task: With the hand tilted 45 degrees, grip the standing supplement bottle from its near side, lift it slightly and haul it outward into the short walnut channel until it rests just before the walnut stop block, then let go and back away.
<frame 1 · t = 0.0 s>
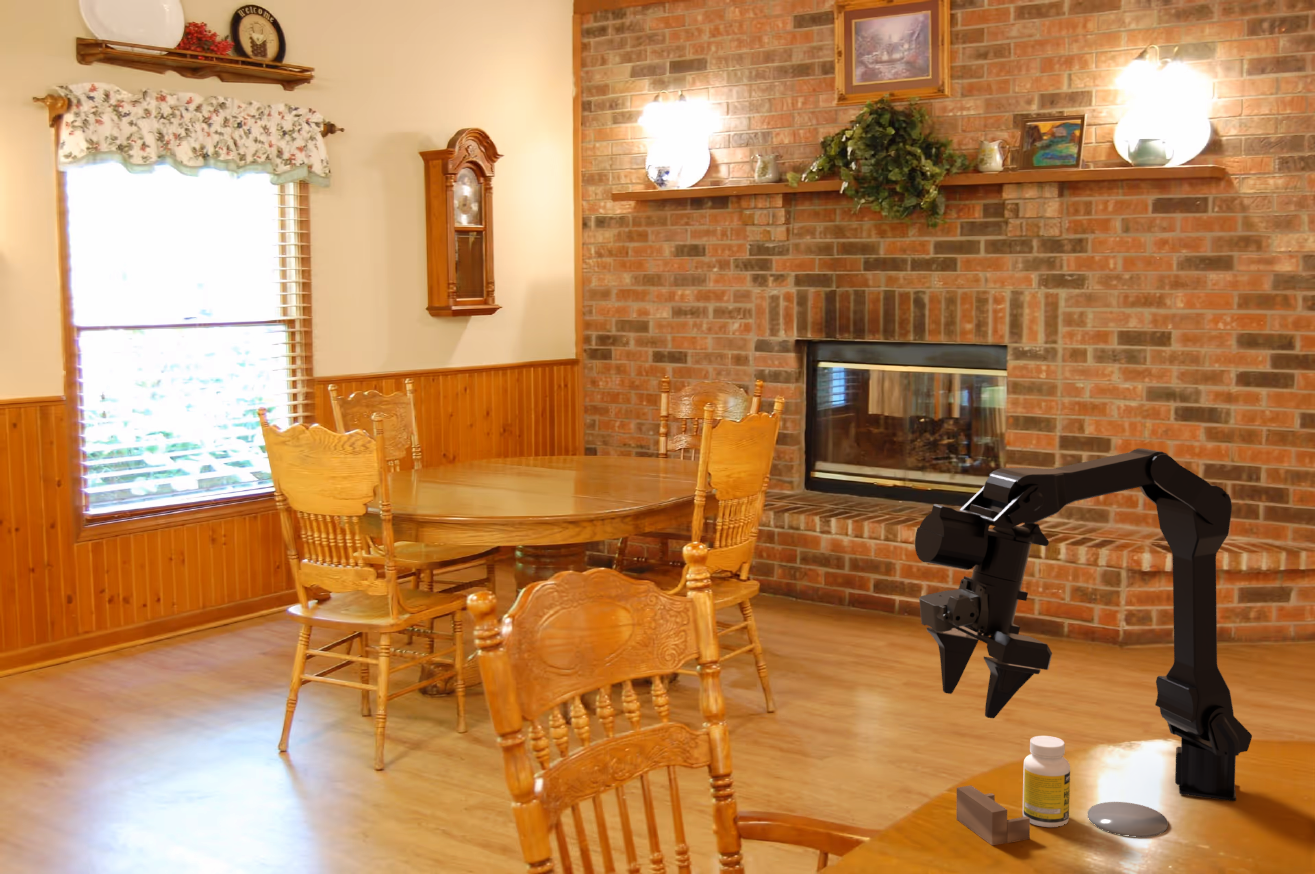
hand: (967, 705, 145), 15 cm above the table, tool pointing down, fingers open, 9 cm apart
supplement bottle: (1045, 820, 150), on the table
slate coaster: (1127, 820, 149), on the table
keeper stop: (981, 830, 147), on the table
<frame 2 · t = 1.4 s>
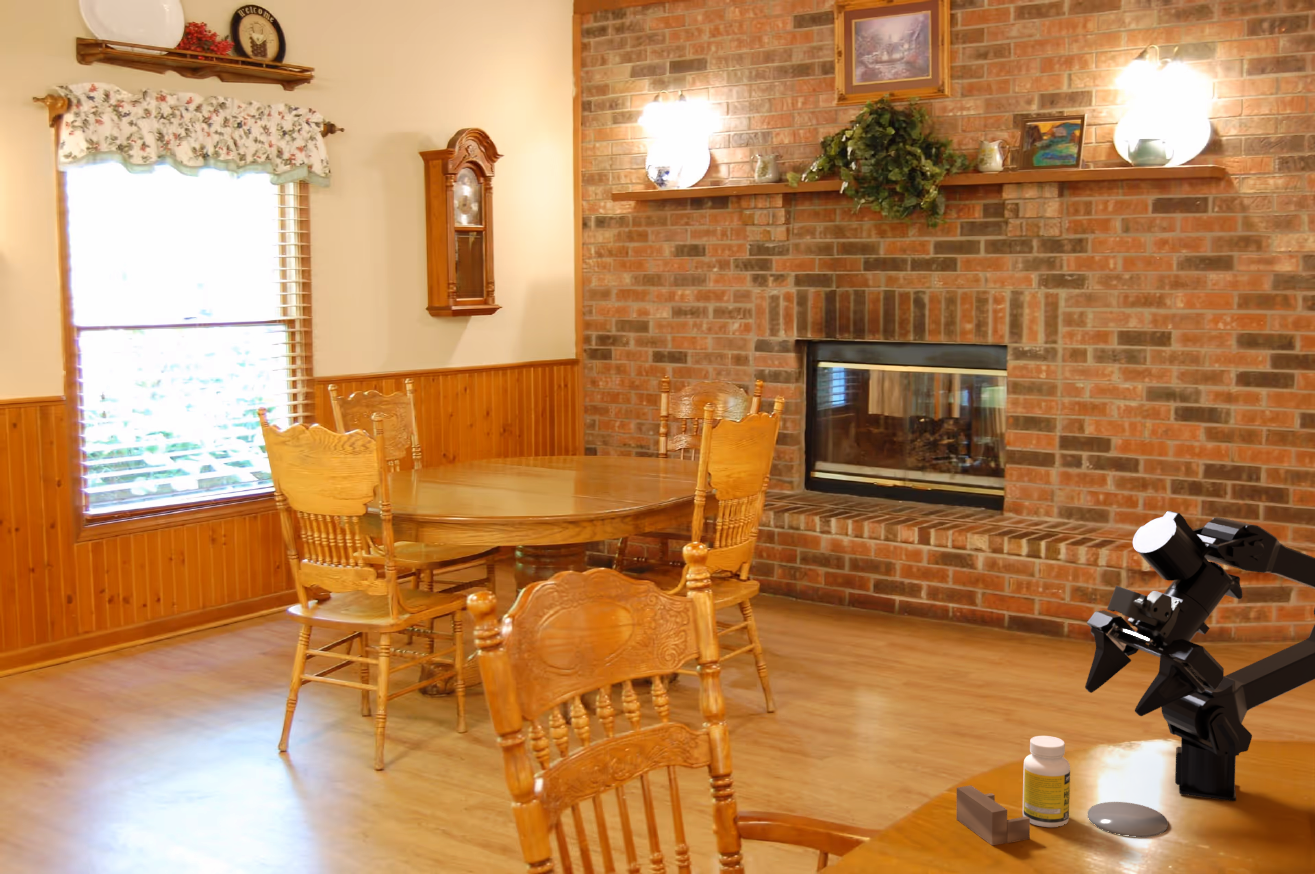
hand: (1111, 701, 151), 13 cm above the table, tool tilted 45°, fingers open, 9 cm apart
nothing on the table moved.
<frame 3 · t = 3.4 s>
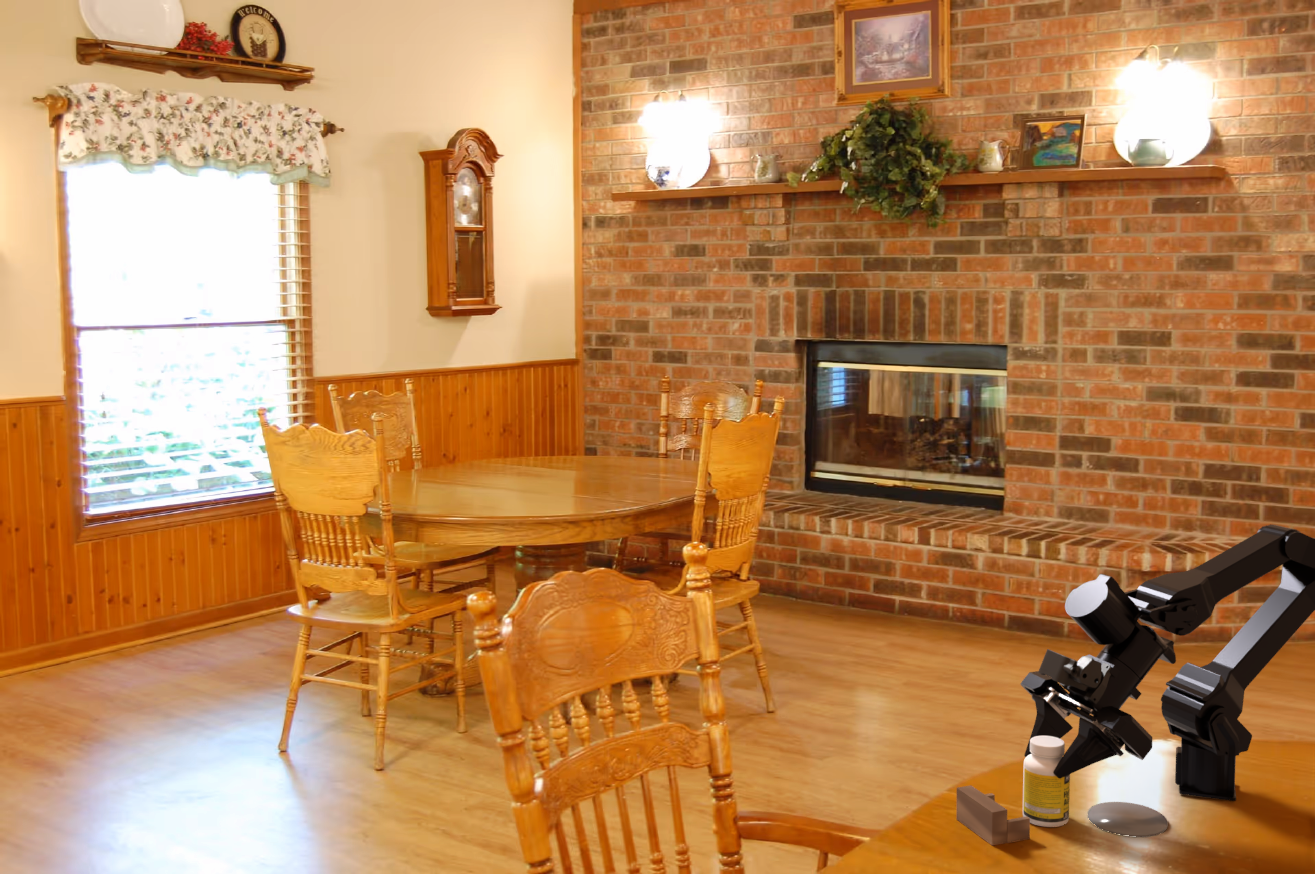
hand: (1041, 767, 149), 7 cm above the table, tool tilted 45°, fingers closed on supplement bottle, 5 cm apart
supplement bottle: (1045, 820, 150), on the table, touching gripper
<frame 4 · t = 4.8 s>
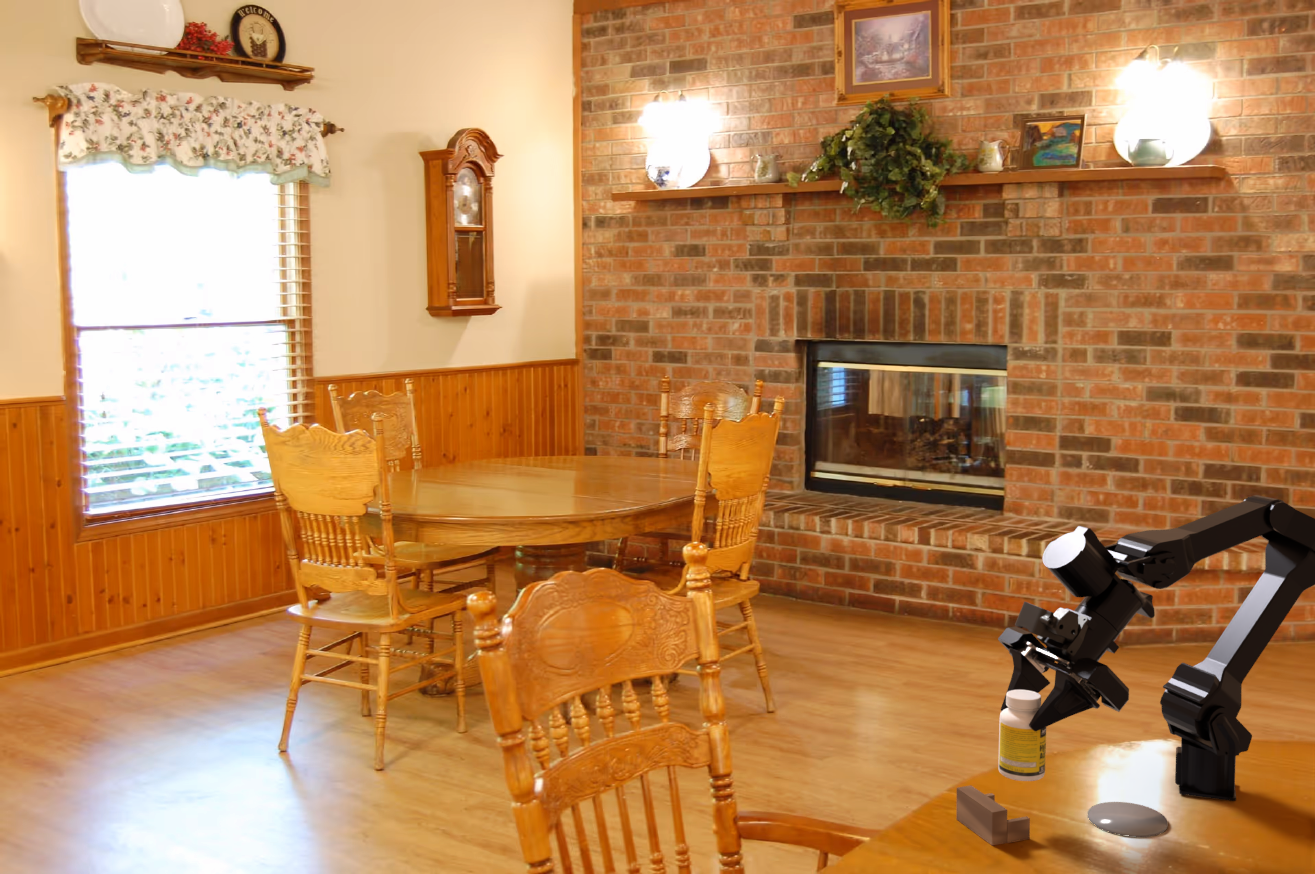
hand: (1017, 720, 147), 13 cm above the table, tool tilted 45°, fingers closed on supplement bottle, 5 cm apart
supplement bottle: (1021, 775, 148), point 6 cm above the table, touching gripper
when the fingers open (8 cm above the table, at t = 6.2 s): supplement bottle stays where it is, on the table.
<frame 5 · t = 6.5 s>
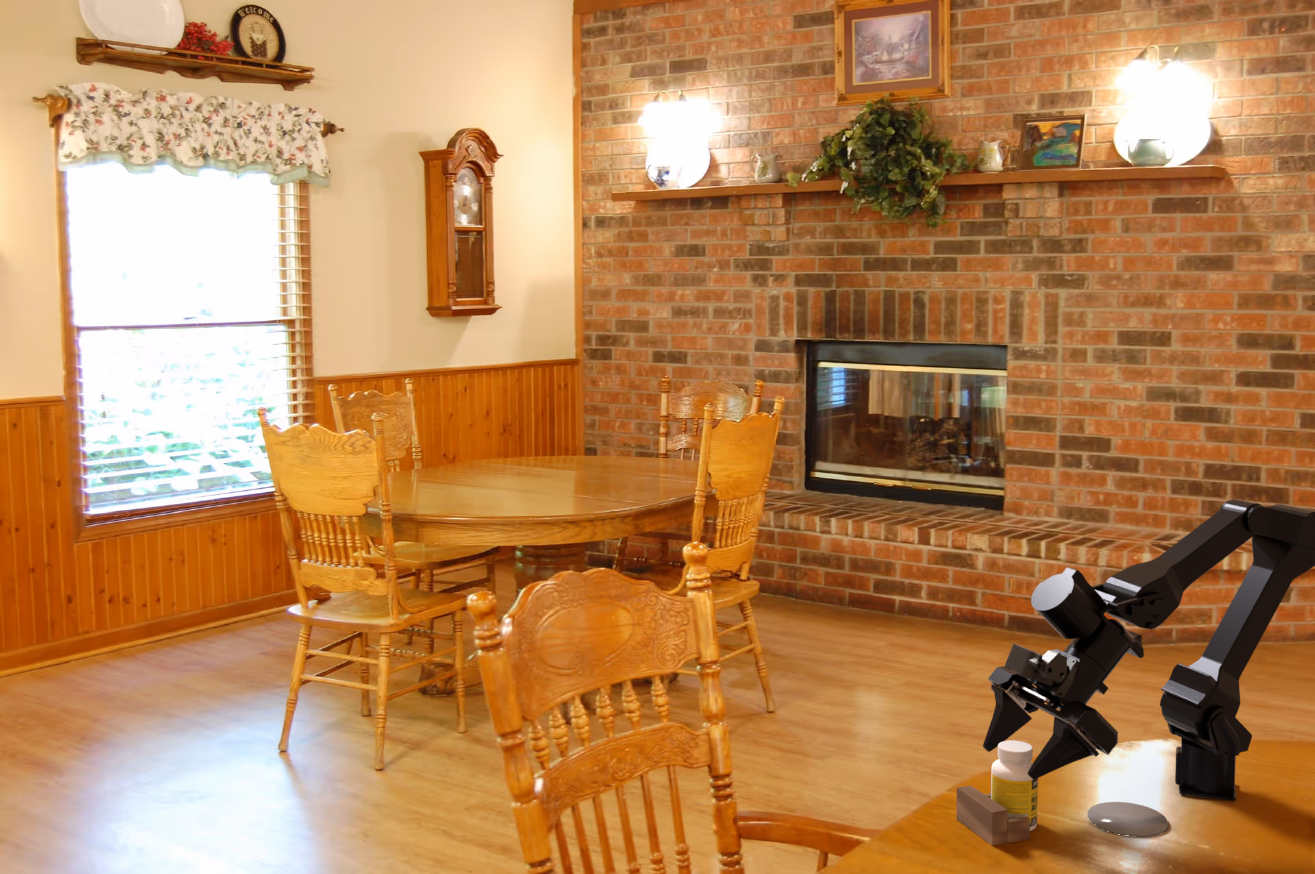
hand: (1007, 762, 147), 8 cm above the table, tool tilted 45°, fingers open, 9 cm apart
supplement bottle: (1013, 826, 148), on the table
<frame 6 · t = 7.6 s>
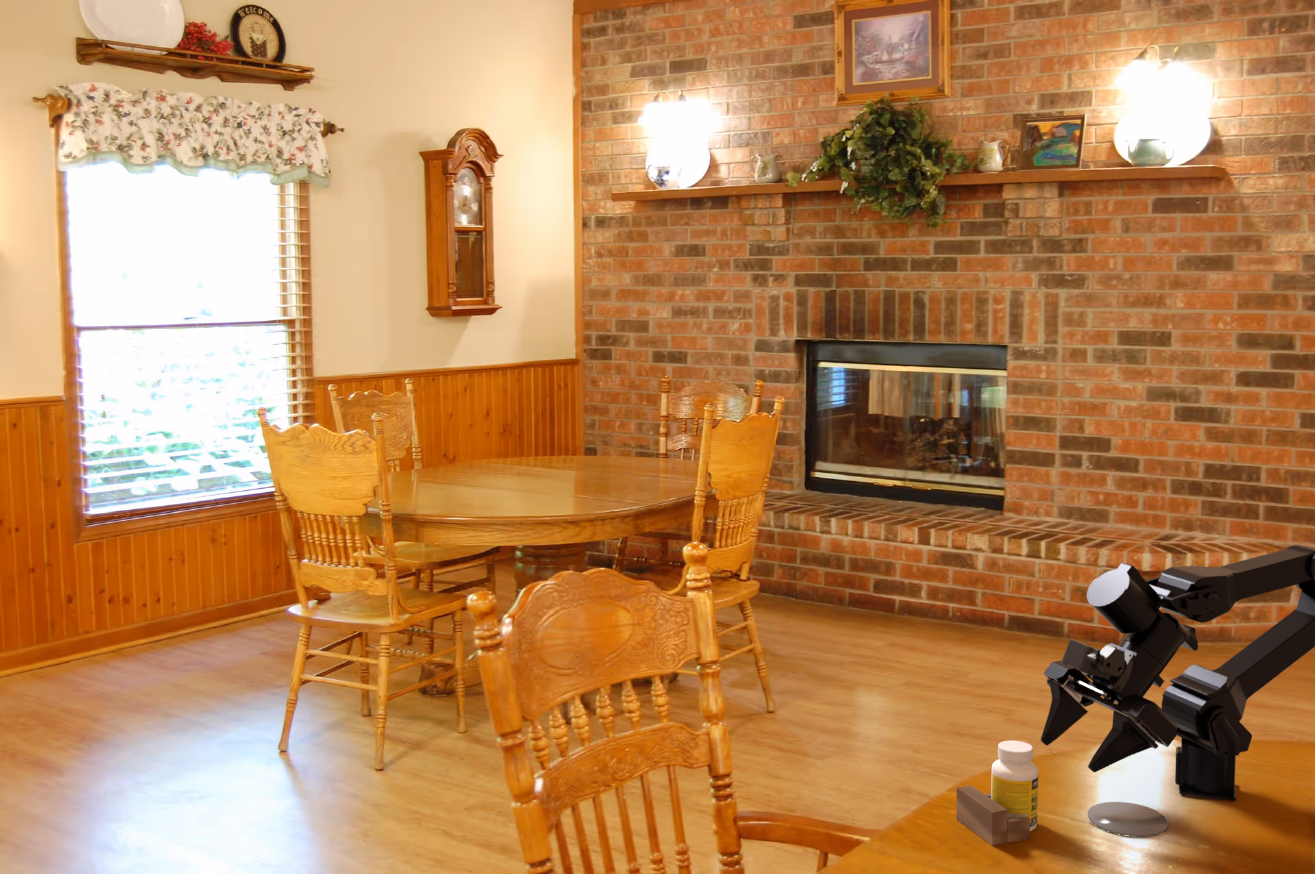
hand: (1066, 756, 150), 7 cm above the table, tool tilted 45°, fingers open, 9 cm apart
nothing on the table moved.
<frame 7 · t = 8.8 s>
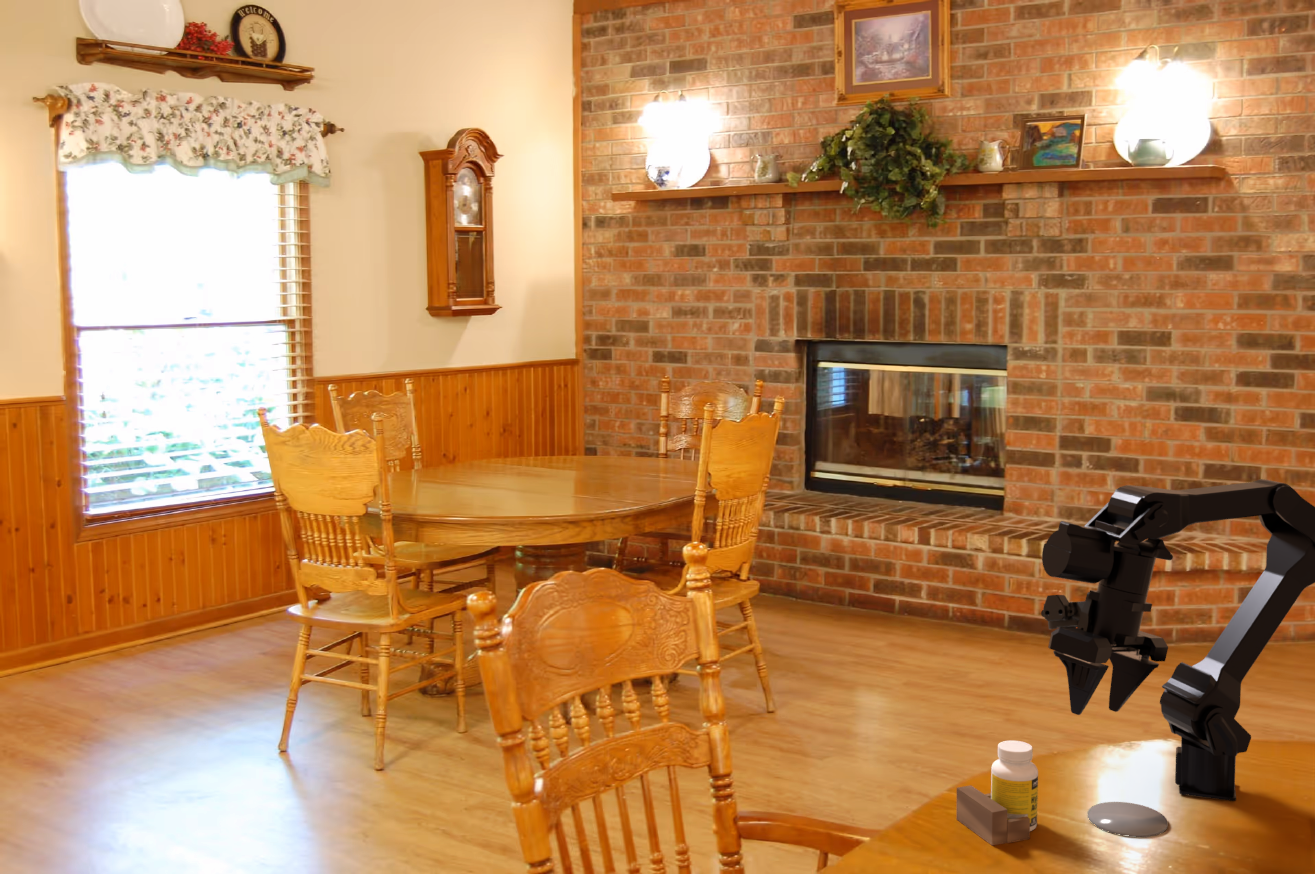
hand: (1094, 712, 152), 12 cm above the table, tool pointing down, fingers open, 9 cm apart
nothing on the table moved.
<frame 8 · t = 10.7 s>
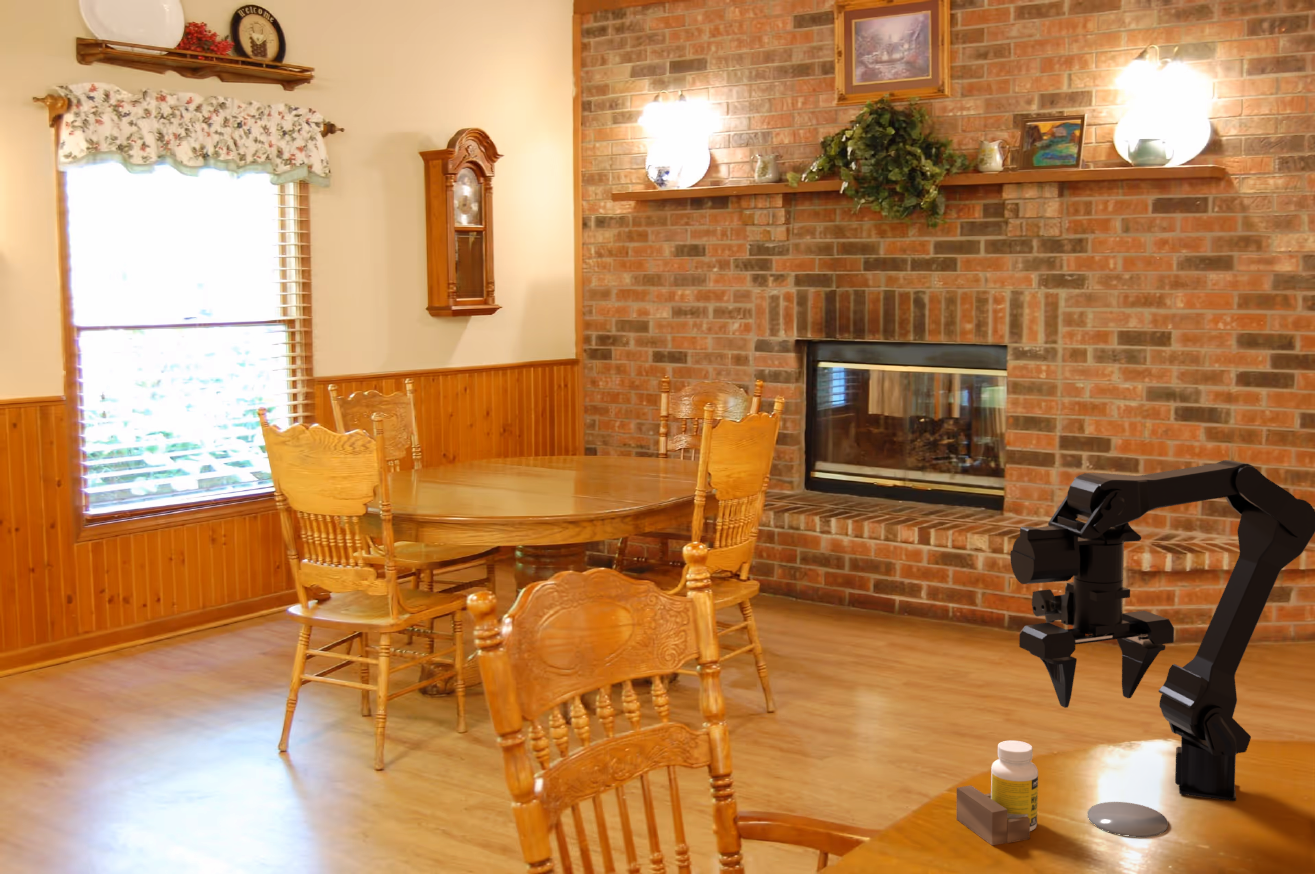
hand: (1095, 701, 152), 13 cm above the table, tool pointing down, fingers open, 9 cm apart
nothing on the table moved.
at the end: supplement bottle 0.3 cm from the target spot on the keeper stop, point 0.0 cm above the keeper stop's base; supplement bottle tilted 0°; the gripper is holding nothing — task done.
